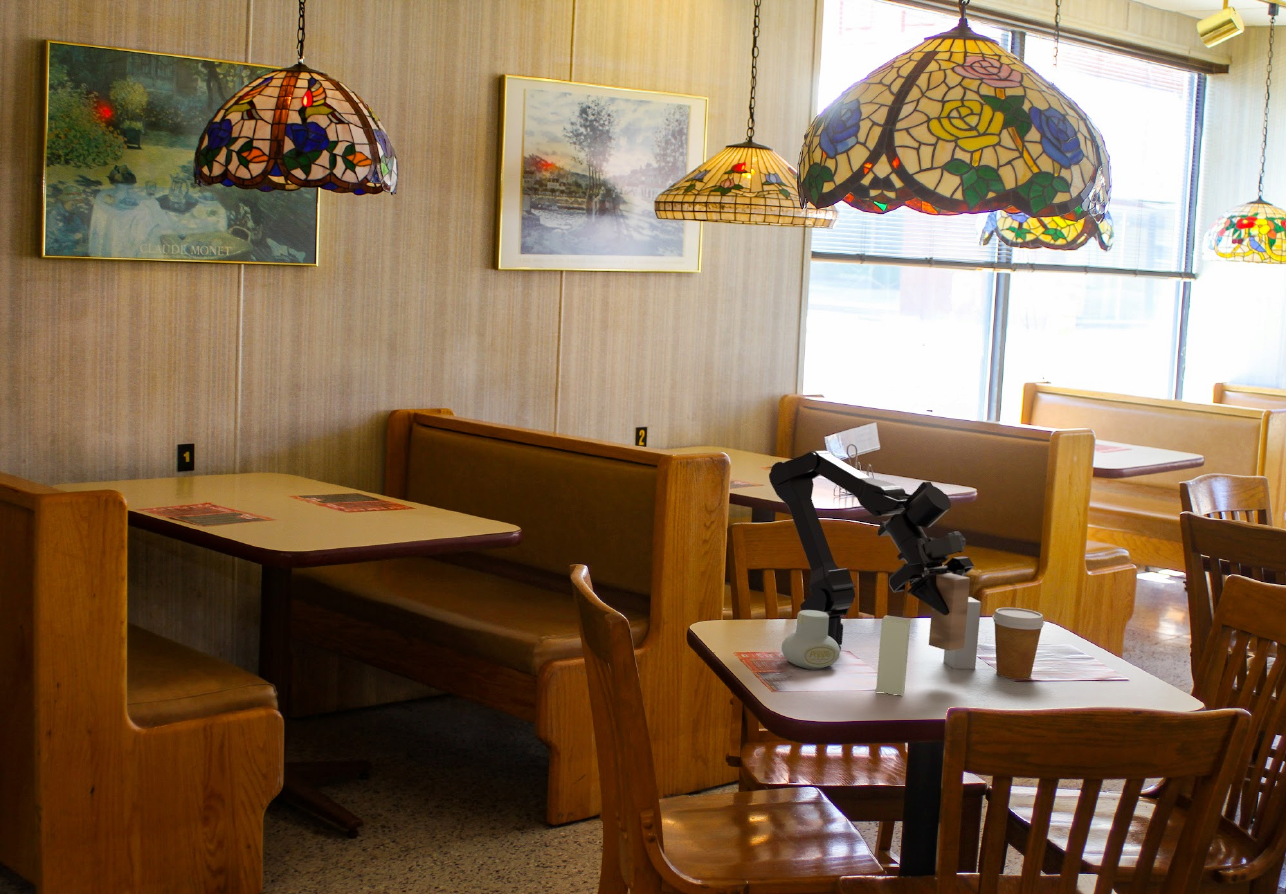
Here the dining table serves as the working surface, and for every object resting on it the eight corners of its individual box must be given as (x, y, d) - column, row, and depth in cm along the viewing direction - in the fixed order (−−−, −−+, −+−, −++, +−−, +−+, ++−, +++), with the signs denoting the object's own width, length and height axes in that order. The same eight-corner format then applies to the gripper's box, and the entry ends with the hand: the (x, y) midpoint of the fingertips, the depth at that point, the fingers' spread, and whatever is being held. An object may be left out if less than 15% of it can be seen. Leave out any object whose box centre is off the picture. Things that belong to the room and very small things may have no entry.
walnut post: (928, 645, 231) (934, 575, 230) (943, 642, 234) (949, 573, 233) (948, 651, 228) (955, 580, 226) (964, 647, 231) (970, 577, 229)
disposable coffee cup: (1040, 672, 243) (1045, 611, 242) (1038, 684, 234) (1044, 621, 233) (989, 665, 246) (994, 604, 245) (985, 677, 237) (991, 614, 236)
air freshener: (826, 658, 244) (830, 607, 243) (845, 670, 237) (849, 618, 236) (774, 659, 241) (777, 608, 240) (791, 672, 233) (795, 619, 232)
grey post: (953, 668, 242) (959, 602, 241) (943, 662, 247) (948, 596, 245) (975, 668, 243) (981, 602, 242) (964, 662, 248) (970, 596, 246)
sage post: (875, 692, 223) (881, 620, 222) (879, 686, 227) (885, 615, 226) (901, 696, 222) (907, 623, 220) (904, 689, 226) (910, 618, 225)
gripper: (907, 519, 225) (952, 593, 218) (970, 514, 237) (1015, 583, 230) (869, 555, 232) (912, 627, 225) (932, 547, 244) (975, 616, 237)
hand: (955, 612), depth 229 cm, fingers closed on walnut post, 4 cm apart
